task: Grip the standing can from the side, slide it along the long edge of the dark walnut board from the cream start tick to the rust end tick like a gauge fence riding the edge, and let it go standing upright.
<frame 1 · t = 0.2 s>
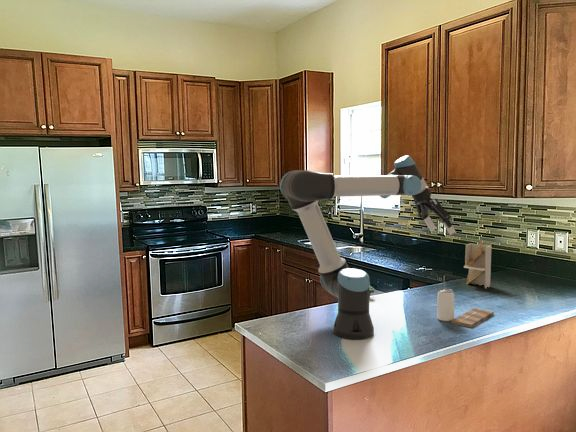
hand: (442, 231, 198), 34 cm above the countertop, tool tilted 35°, fingers open, 13 cm apart
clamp: (361, 299, 222), on the countertop
can: (445, 319, 190), on the countertop
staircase: (476, 286, 243), on the countertop
walnut board: (472, 318, 190), on the countertop
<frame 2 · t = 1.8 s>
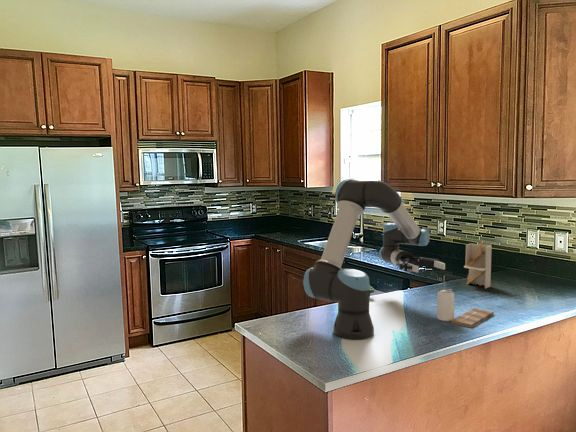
hand: (431, 268, 197), 19 cm above the countertop, tool horizontal, fingers open, 13 cm apart
nothing on the countertop moved.
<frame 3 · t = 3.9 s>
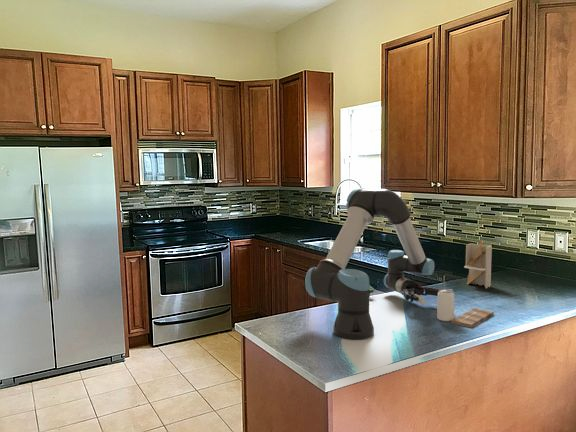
hand: (437, 299, 195), 7 cm above the countertop, tool horizontal, fingers open, 13 cm apart
nothing on the countertop moved.
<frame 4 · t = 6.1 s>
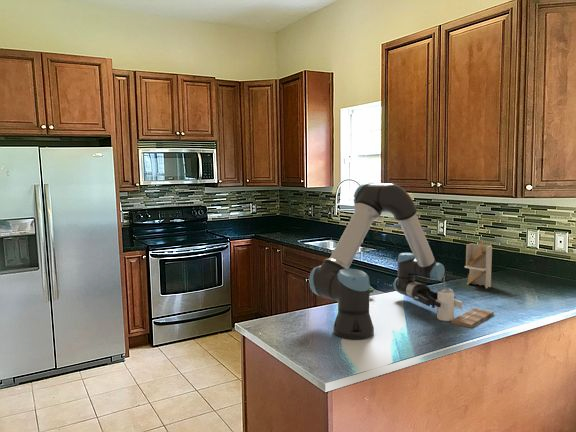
hand: (454, 306, 185), 7 cm above the countertop, tool horizontal, fingers closed on can, 6 cm apart
can: (445, 319, 190), on the countertop, touching gripper
everything else where it was.
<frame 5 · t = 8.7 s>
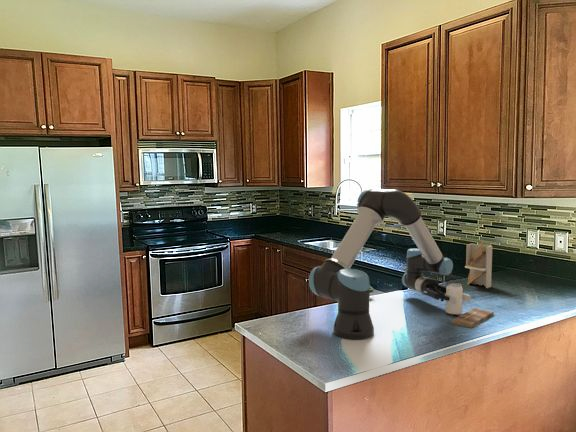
hand: (462, 299, 189), 8 cm above the countertop, tool horizontal, fingers closed on can, 6 cm apart
can: (453, 313, 195), point 1 cm above the countertop, touching gripper
everything else where it was.
when the fingers open (7 cm above the countertop, at t = 11.3 s): can stays where it is, on the countertop.
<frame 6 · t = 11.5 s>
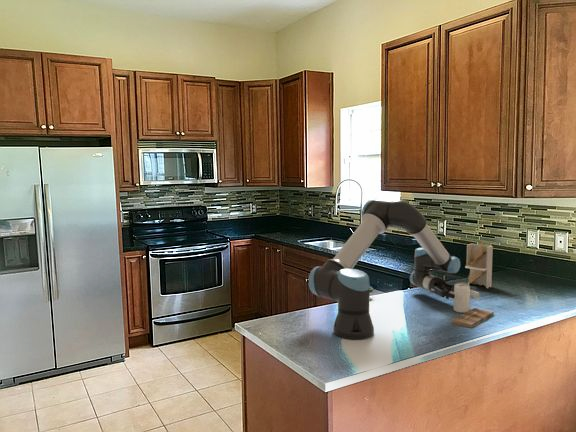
hand: (469, 297, 195), 7 cm above the countertop, tool horizontal, fingers open, 8 cm apart
can: (461, 311, 201), on the countertop
everything else where it was.
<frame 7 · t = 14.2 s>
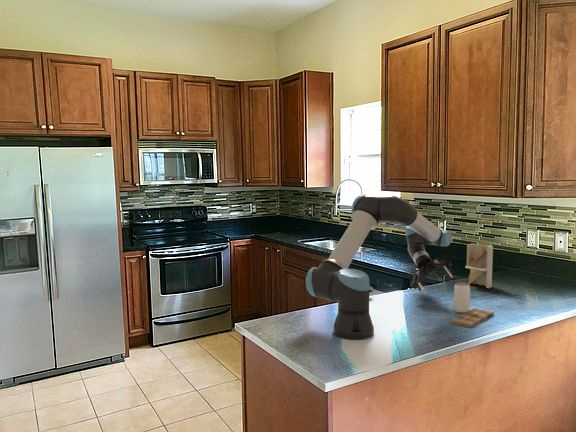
hand: (437, 283, 205), 11 cm above the countertop, tool tilted 75°, fingers open, 13 cm apart
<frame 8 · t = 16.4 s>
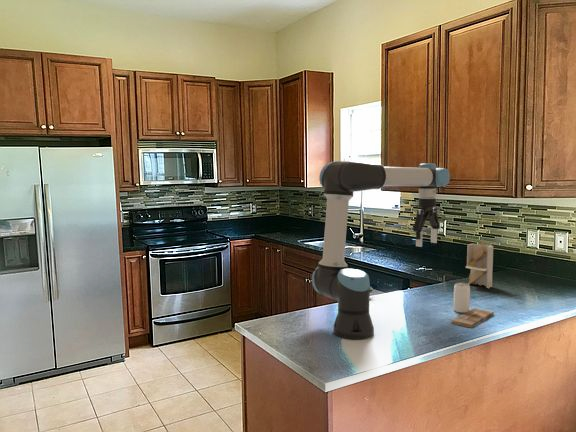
hand: (426, 244, 212), 27 cm above the countertop, tool pointing down, fingers open, 13 cm apart
at the end: can inside the target area (0.2 cm from its centre), on the countertop; can tilted 0°; the gripper is holding nothing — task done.
